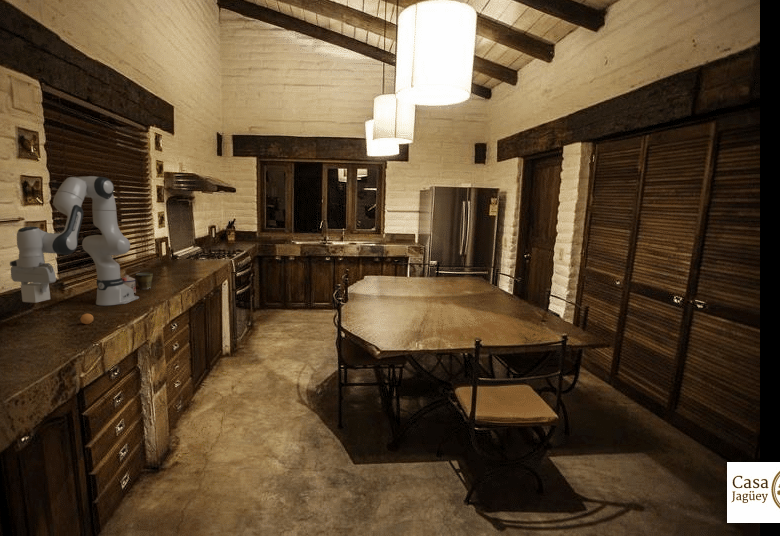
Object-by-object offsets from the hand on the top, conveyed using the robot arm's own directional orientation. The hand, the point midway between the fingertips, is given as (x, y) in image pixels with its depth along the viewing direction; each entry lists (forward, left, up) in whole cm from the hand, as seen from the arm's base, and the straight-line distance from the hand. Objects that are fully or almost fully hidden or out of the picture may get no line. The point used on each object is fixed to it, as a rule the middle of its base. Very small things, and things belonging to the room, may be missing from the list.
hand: (35, 291), depth 191 cm
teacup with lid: (-69, -12, -16) cm, 72 cm away
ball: (-6, +20, -13) cm, 25 cm away
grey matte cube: (0, 0, -4) cm, 4 cm away
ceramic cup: (-84, -14, -16) cm, 87 cm away
